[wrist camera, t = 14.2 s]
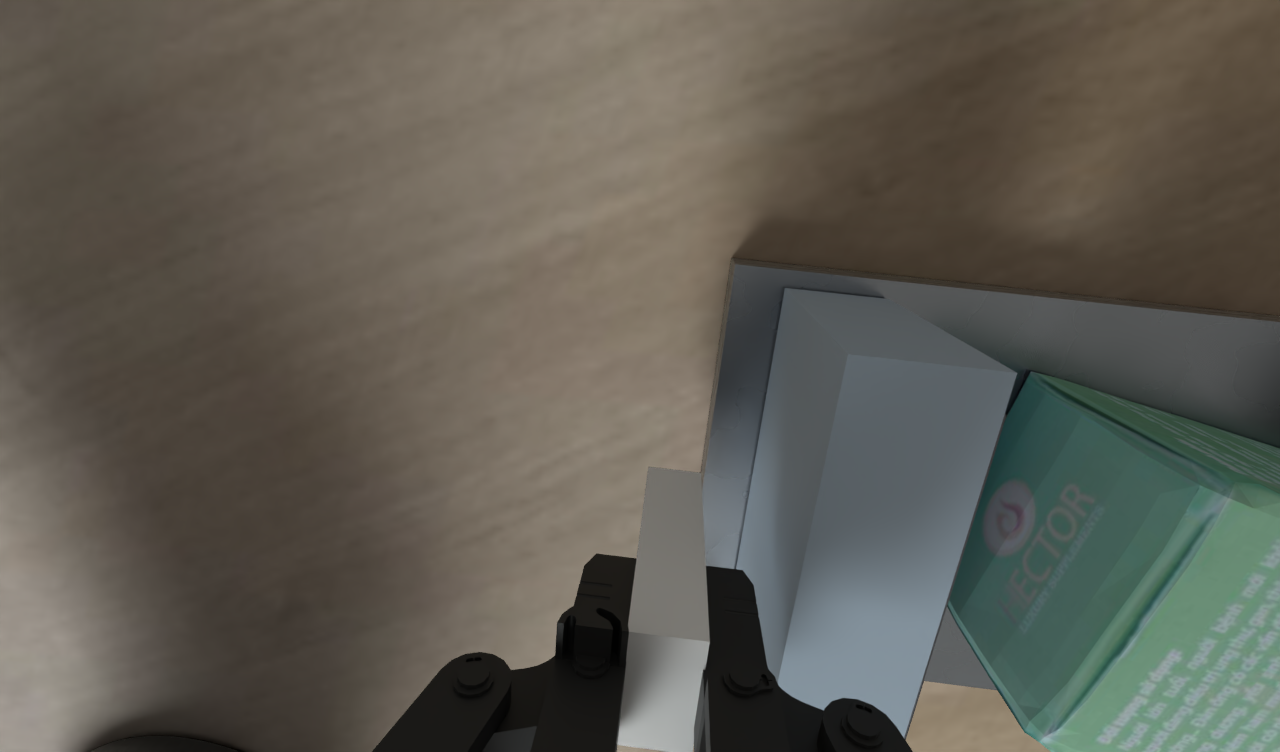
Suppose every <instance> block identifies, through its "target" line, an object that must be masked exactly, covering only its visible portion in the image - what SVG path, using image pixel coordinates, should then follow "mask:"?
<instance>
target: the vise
mask: <svg viewBox="0 0 1280 752" xmlns="http://www.w3.org/2000/svg"><path fill="white" fill-rule="evenodd" d="M785 288H790V289H800V290H809V291H818V292H828V293H837V294H846V295H855V296H865V297H874V298H883V299H890V300H892V301H893V302H895V303H897V304H898V305H900V306H902V307H904V308H905V309H907V310H909V311H911V312H912V313H914V314H916V315H918V316H919V317H921V318H923V319H925V320H926V321H928V322H930V323H931V324H933V325H935V326H937V327H938V328H940V329H942V330H944V331H945V332H947V333H949V334H951V335H952V336H954V337H956V338H958V339H959V340H961V341H963V342H964V343H966V344H968V345H970V346H971V347H973V348H975V349H977V350H978V351H980V352H982V353H984V354H985V355H987V356H989V357H991V358H992V359H994V360H996V361H998V362H999V363H1001V364H1003V365H1004V366H1006V367H1008V368H1010V369H1011V370H1013V371H1015V372H1017V376H1016V379H1015V382H1014V385H1013V389H1012V392H1011V395H1010V398H1009V402H1008V405H1007V408H1006V411H1005V414H1006V415H1007V416H1008V414H1009V412H1010V410H1011V408H1012V406H1013V404H1014V402H1015V400H1016V399H1017V397H1018V395H1019V393H1020V391H1021V389H1022V387H1023V385H1024V383H1025V381H1026V379H1027V378H1028V376H1029V374H1030V372H1035V373H1039V374H1043V375H1047V376H1052V377H1056V378H1059V379H1062V380H1065V381H1069V382H1072V383H1075V384H1078V385H1081V386H1084V387H1088V388H1091V389H1094V390H1097V391H1100V392H1103V393H1106V394H1109V395H1113V396H1116V397H1119V398H1122V399H1125V400H1128V401H1131V402H1135V403H1138V404H1141V405H1144V406H1148V407H1151V408H1154V409H1157V410H1161V411H1164V412H1167V413H1170V414H1173V415H1177V416H1180V417H1183V418H1186V419H1190V420H1193V421H1196V422H1199V423H1202V424H1205V425H1208V426H1211V427H1215V428H1218V429H1221V430H1224V431H1227V432H1230V433H1233V434H1236V435H1239V436H1242V437H1246V438H1249V439H1252V440H1255V441H1258V442H1261V443H1264V444H1267V445H1270V446H1274V447H1277V448H1280V316H1274V315H1264V314H1255V313H1246V312H1236V311H1227V310H1217V309H1208V308H1199V307H1189V306H1180V305H1170V304H1161V303H1151V302H1142V301H1133V300H1123V299H1114V298H1104V297H1095V296H1085V295H1076V294H1067V293H1057V292H1048V291H1038V290H1029V289H1020V288H1010V287H1001V286H991V285H982V284H972V283H963V282H954V281H944V280H935V279H925V278H916V277H906V276H897V275H888V274H878V273H869V272H859V271H850V270H841V269H831V268H822V267H812V266H803V265H793V264H784V263H775V262H765V261H756V260H746V259H737V258H731V263H730V270H729V277H728V284H727V291H726V298H725V305H724V312H723V319H722V326H721V333H720V340H719V347H718V354H717V361H716V368H715V375H714V382H713V389H712V396H711V403H710V410H709V417H708V424H707V431H706V438H705V445H704V452H703V459H702V466H701V481H702V501H703V520H704V539H705V559H706V566H713V567H722V568H730V569H736V567H737V561H738V555H739V549H740V544H741V538H742V532H743V526H744V521H745V515H746V509H747V503H748V498H749V492H750V486H751V480H752V475H753V469H754V463H755V457H756V452H757V446H758V440H759V434H760V429H761V423H762V417H763V411H764V406H765V400H766V394H767V388H768V383H769V377H770V371H771V365H772V360H773V354H774V348H775V342H776V337H777V331H778V325H779V319H780V314H781V308H782V302H783V296H784V290H785ZM1007 416H1006V417H1007ZM924 681H929V682H937V683H945V684H953V685H961V686H968V687H976V688H984V689H992V690H997V689H996V687H995V685H994V684H993V682H992V681H991V679H990V678H989V676H988V674H987V673H986V671H985V670H984V668H983V666H982V665H981V663H980V662H979V660H978V658H977V657H976V655H975V654H974V652H973V650H972V649H971V647H970V645H969V644H968V642H967V641H966V639H965V637H964V636H963V634H962V633H961V631H960V629H959V628H958V626H957V624H956V622H955V620H954V619H953V617H952V615H951V613H950V611H949V609H948V607H947V608H946V611H945V615H944V618H943V621H942V624H941V628H940V631H939V634H938V637H937V640H936V644H935V647H934V650H933V653H932V656H931V660H930V663H929V666H928V669H927V672H926V676H925V679H924Z"/></svg>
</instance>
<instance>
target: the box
mask: <svg viewBox="0 0 1280 752" xmlns="http://www.w3.org/2000/svg"><path fill="white" fill-rule="evenodd" d="M947 607H948V609H949V611H950V613H951V615H952V617H953V619H954V620H955V622H956V624H957V626H958V628H959V629H960V631H961V633H962V634H963V636H964V637H965V639H966V641H967V642H968V644H969V645H970V647H971V649H972V650H973V652H974V654H975V655H976V657H977V658H978V660H979V662H980V663H981V665H982V666H983V668H984V670H985V671H986V673H987V674H988V676H989V678H990V679H991V681H992V682H993V684H994V685H995V687H996V689H997V690H998V692H999V693H1000V695H1001V696H1002V698H1003V699H1004V701H1005V703H1006V704H1007V706H1008V707H1009V709H1010V710H1011V712H1012V713H1013V715H1014V717H1015V718H1016V720H1017V721H1018V723H1019V724H1020V726H1021V728H1022V729H1023V731H1024V732H1025V733H1027V734H1028V735H1030V736H1031V737H1033V738H1034V739H1036V740H1037V741H1039V742H1040V743H1041V744H1042V745H1043V746H1045V747H1046V748H1047V749H1048V750H1050V751H1051V752H1280V448H1277V447H1274V446H1270V445H1267V444H1264V443H1261V442H1258V441H1255V440H1252V439H1249V438H1246V437H1242V436H1239V435H1236V434H1233V433H1230V432H1227V431H1224V430H1221V429H1218V428H1215V427H1211V426H1208V425H1205V424H1202V423H1199V422H1196V421H1193V420H1190V419H1186V418H1183V417H1180V416H1177V415H1173V414H1170V413H1167V412H1164V411H1161V410H1157V409H1154V408H1151V407H1148V406H1144V405H1141V404H1138V403H1135V402H1131V401H1128V400H1125V399H1122V398H1119V397H1116V396H1113V395H1109V394H1106V393H1103V392H1100V391H1097V390H1094V389H1091V388H1088V387H1084V386H1081V385H1078V384H1075V383H1072V382H1069V381H1065V380H1062V379H1059V378H1056V377H1052V376H1047V375H1043V374H1039V373H1035V372H1030V374H1029V376H1028V378H1027V379H1026V381H1025V383H1024V385H1023V387H1022V389H1021V391H1020V393H1019V395H1018V397H1017V399H1016V400H1015V402H1014V404H1013V406H1012V408H1011V410H1010V412H1009V414H1008V416H1007V417H1006V419H1005V422H1004V425H1003V429H1002V432H1001V435H1000V438H999V441H998V445H997V448H996V451H995V454H994V457H993V461H992V464H991V467H990V470H989V473H988V477H987V480H986V483H985V486H984V490H983V493H982V496H981V499H980V502H979V506H978V509H977V512H976V515H975V518H974V522H973V525H972V528H971V531H970V534H969V538H968V541H967V544H966V547H965V550H964V554H963V557H962V560H961V563H960V567H959V570H958V573H957V576H956V579H955V583H954V586H953V589H952V592H951V595H950V599H949V602H948V605H947Z"/></svg>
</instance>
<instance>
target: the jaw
mask: <svg viewBox="0 0 1280 752" xmlns="http://www.w3.org/2000/svg"><path fill="white" fill-rule="evenodd" d="M1016 376H1017V372H1015V371H1013V370H1011V369H1010V368H1008V367H1006V366H1004V365H1003V364H1001V363H999V362H998V361H996V360H994V359H992V358H991V357H989V356H987V355H985V354H984V353H982V352H980V351H978V350H977V349H975V348H973V347H971V346H970V345H968V344H966V343H964V342H963V341H961V340H959V339H958V338H956V337H954V336H952V335H951V334H949V333H947V332H945V331H944V330H942V329H940V328H938V327H937V326H935V325H933V324H931V323H930V322H928V321H926V320H925V319H923V318H921V317H919V316H918V315H916V314H914V313H912V312H911V311H909V310H907V309H905V308H904V307H902V306H900V305H898V304H897V303H895V302H893V301H892V300H890V299H883V298H874V297H865V296H855V295H846V294H837V293H828V292H818V291H809V290H800V289H790V288H785V290H784V296H783V302H782V308H781V314H780V319H779V325H778V331H777V337H776V342H775V348H774V354H773V360H772V365H771V371H770V377H769V383H768V388H767V394H766V400H765V406H764V411H763V417H762V423H761V429H760V434H759V440H758V446H757V452H756V457H755V463H754V469H753V475H752V480H751V486H750V492H749V498H748V503H747V509H746V515H745V521H744V526H743V532H742V538H741V544H740V549H739V555H738V561H737V567H736V569H738V570H743V571H744V572H745V574H746V575H747V577H748V578H749V579H750V581H751V582H752V583H753V585H754V590H755V596H756V604H757V608H758V614H759V615H758V617H759V620H760V626H761V632H762V637H763V643H764V649H765V655H766V661H767V666H768V669H769V671H770V672H771V673H772V674H773V675H774V676H775V678H776V681H777V683H778V685H779V687H780V688H781V689H782V690H784V691H785V692H786V693H788V694H789V695H790V696H792V697H794V698H796V699H798V700H800V701H802V702H804V703H806V704H809V705H811V706H814V707H816V708H819V709H821V710H824V708H825V707H826V706H827V705H828V704H829V703H830V702H831V701H834V700H837V699H841V698H851V699H858V700H861V701H863V702H866V703H869V704H871V705H873V706H875V707H876V708H877V709H879V710H880V711H882V712H883V713H885V714H886V715H887V716H888V717H889V719H890V720H891V721H892V722H893V723H894V724H895V725H896V727H897V728H898V730H899V731H900V733H901V734H902V736H903V738H904V739H905V740H906V737H907V733H908V730H909V727H910V724H911V721H912V717H913V714H914V711H915V708H916V705H917V701H918V698H919V695H920V692H921V689H922V685H923V682H924V679H925V676H926V672H927V669H928V666H929V663H930V660H931V656H932V653H933V650H934V647H935V644H936V640H937V637H938V634H939V631H940V628H941V624H942V621H943V618H944V615H945V611H946V608H947V605H948V602H949V599H950V595H951V592H952V589H953V586H954V583H955V579H956V576H957V573H958V570H959V567H960V563H961V560H962V557H963V554H964V550H965V547H966V544H967V541H968V538H969V534H970V531H971V528H972V525H973V522H974V518H975V515H976V512H977V509H978V506H979V502H980V499H981V496H982V493H983V490H984V486H985V483H986V480H987V477H988V473H989V470H990V467H991V464H992V461H993V457H994V454H995V451H996V448H997V445H998V441H999V438H1000V435H1001V432H1002V429H1003V425H1004V422H1005V419H1006V416H1007V415H1006V414H1005V411H1006V408H1007V405H1008V402H1009V398H1010V395H1011V392H1012V389H1013V385H1014V382H1015V379H1016Z"/></svg>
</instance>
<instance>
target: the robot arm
mask: <svg viewBox="0 0 1280 752" xmlns="http://www.w3.org/2000/svg"><path fill="white" fill-rule="evenodd" d="M758 615H759V614H758V608H757V604H756V596H755V590H754V585H753V583H752V582H751V581H750V579H749V578H748V577H747V575H746V574H745V572H744V571H743V570H738V569H730V568H722V567H713V566H706V559H705V539H704V520H703V501H702V481H701V473H698V472H690V471H681V470H672V469H664V468H655V467H648V475H647V482H646V490H645V498H644V506H643V513H642V521H641V529H640V536H639V544H638V552H637V559H636V558H627V557H619V556H611V555H603V554H596V555H595V556H594V557H593V558H592V559H591V560H590V561H589V562H588V563H587V564H586V565H585V566H584V569H583V573H582V577H581V581H580V584H579V588H578V592H577V596H576V600H575V603H574V606H573V607H571V608H570V609H568V610H567V611H566V612H564V613H563V614H562V615H561V617H560V619H559V621H558V622H557V636H556V653H555V656H554V657H553V658H551V659H550V660H549V661H547V662H545V663H543V664H540V665H538V666H534V667H530V668H525V669H518V670H510V668H509V667H508V665H507V664H506V663H505V661H504V660H502V659H501V658H499V657H497V656H495V655H493V654H488V653H482V652H478V653H470V654H465V655H462V656H460V657H458V658H455V659H453V660H451V661H450V662H449V663H448V664H447V665H446V666H444V667H443V668H442V669H441V670H440V671H439V673H438V674H437V675H436V676H435V677H434V678H433V680H432V681H431V682H430V683H429V684H428V686H427V687H426V688H425V689H424V690H423V692H422V693H421V694H420V695H419V696H418V698H417V699H416V700H415V701H414V702H413V704H412V705H411V706H410V707H409V708H408V709H407V711H406V712H405V713H404V714H403V715H402V717H401V718H400V719H399V720H398V721H397V723H396V724H395V725H394V726H393V727H392V729H391V730H390V731H389V732H388V733H387V735H386V736H385V737H384V738H383V739H382V740H381V742H380V743H379V744H378V745H377V746H376V748H375V749H374V750H373V751H372V752H616V751H617V745H622V746H629V747H637V748H644V749H652V750H659V751H667V752H692V751H693V745H694V752H912V750H911V748H910V747H909V745H908V744H907V742H906V741H905V739H904V738H903V736H902V734H901V733H900V731H899V730H898V728H897V727H896V725H895V724H894V723H893V722H892V721H891V720H890V719H889V717H888V716H887V715H886V714H885V713H883V712H882V711H880V710H879V709H877V708H876V707H875V706H873V705H871V704H869V703H866V702H863V701H861V700H858V699H851V698H841V699H837V700H834V701H831V702H830V703H829V704H828V705H827V706H826V707H825V708H824V710H821V709H819V708H816V707H814V706H811V705H809V704H806V703H804V702H802V701H800V700H798V699H796V698H794V697H792V696H790V695H789V694H788V693H786V692H785V691H784V690H782V689H781V688H780V687H779V685H778V683H777V681H776V678H775V676H774V675H773V674H772V673H771V672H770V671H769V669H768V666H767V661H766V655H765V649H764V643H763V637H762V632H761V626H760V620H759V617H758ZM91 752H238V751H236V750H233V749H230V748H227V747H224V746H221V745H217V744H214V743H210V742H205V741H201V740H196V739H190V738H182V737H173V736H144V737H135V738H128V739H123V740H119V741H115V742H112V743H109V744H106V745H103V746H101V747H99V748H97V749H95V750H93V751H91Z"/></svg>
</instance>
